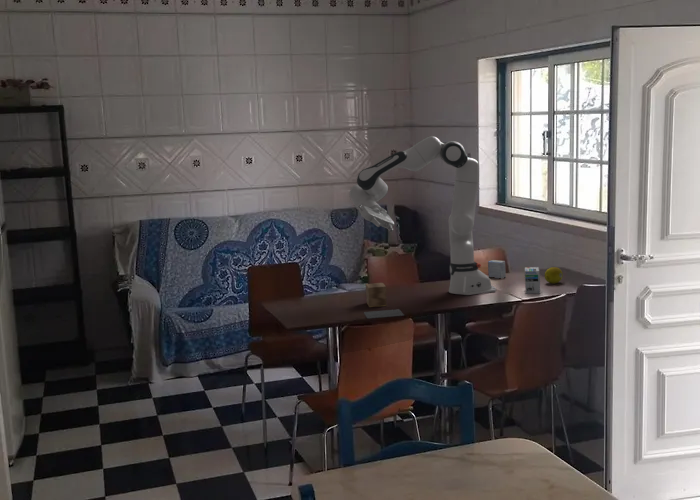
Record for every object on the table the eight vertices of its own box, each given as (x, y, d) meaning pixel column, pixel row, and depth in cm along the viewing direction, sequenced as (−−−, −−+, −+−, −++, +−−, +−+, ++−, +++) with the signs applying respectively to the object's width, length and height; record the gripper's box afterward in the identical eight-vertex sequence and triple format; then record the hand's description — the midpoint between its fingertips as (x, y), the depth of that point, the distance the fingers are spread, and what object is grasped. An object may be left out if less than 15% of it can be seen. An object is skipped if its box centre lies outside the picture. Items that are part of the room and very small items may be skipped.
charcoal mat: (399, 309, 345) (399, 309, 345) (404, 315, 333) (404, 315, 333) (363, 312, 343) (363, 312, 343) (367, 318, 331) (367, 318, 331)
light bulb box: (540, 293, 360) (539, 270, 358) (525, 294, 361) (524, 271, 360) (539, 289, 370) (539, 266, 369) (525, 289, 372) (524, 267, 370)
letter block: (383, 301, 363) (382, 282, 361) (386, 305, 354) (385, 286, 352) (366, 303, 362) (365, 284, 360) (369, 307, 353) (368, 287, 352)
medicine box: (506, 277, 402) (505, 261, 401) (501, 279, 399) (500, 262, 398) (493, 276, 408) (492, 259, 406) (488, 277, 405) (487, 261, 403)
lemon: (551, 286, 375) (551, 269, 374) (540, 283, 382) (539, 267, 381) (568, 282, 380) (568, 266, 379) (556, 280, 387) (556, 264, 386)
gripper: (360, 199, 358) (375, 217, 350) (387, 211, 373) (402, 228, 365) (352, 209, 360) (367, 227, 351) (379, 220, 375) (394, 238, 366)
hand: (385, 228), depth 358 cm, fingers open, 8 cm apart
